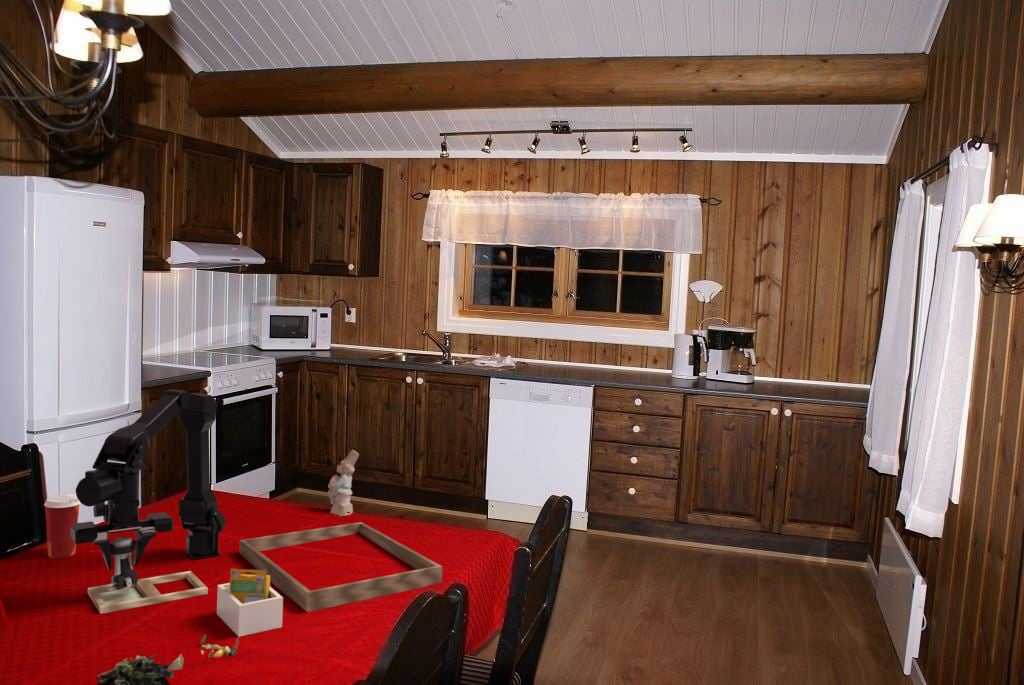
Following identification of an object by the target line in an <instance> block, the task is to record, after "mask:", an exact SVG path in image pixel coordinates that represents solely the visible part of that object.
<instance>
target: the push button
mask: <svg viewBox="0 0 1024 685" xmlns="http://www.w3.org/2000/svg"><path fill="white" fill-rule="evenodd" d="M110 545H111V555H113V557H114V575H112V577H111V583H109V585H108V584H106V585H107V586H112V588H110V589H108V590H112V589H117V590H120V589H122V588H125V587H127V586H128V587H129V586H131V585H132V584H136V583H137V582H138V580H139V579H138V571H137V570H135V569H134V567H133V561H132V560H133V558H132V552H134V550H135V545H136V540H135V539H132V537H131V536H120V537H115V538H114V539H112V542H110ZM133 569H134V570H133Z"/></svg>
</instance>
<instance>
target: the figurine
mask: <svg viewBox="0 0 1024 685" xmlns="http://www.w3.org/2000/svg"><path fill="white" fill-rule="evenodd" d="M359 456H360V454H359V453H358V452H357V451H355V450H354V449H351V451H350V452H349V453H348V454H347V456H346V457H345V458H344V459H343V460H341V461H340V464H338V465H337V466H336V467H337V468H336V472H337V473H339V474H340V476H339V475H338V474H334V475H333V476H332V477H331V478H330V481H329V483H328V484H327V487H328V489H329V490H328V491H327V494H328V499H330V504H331V505H332V507H331V508H330V511H329V513H330V514H331V515H335V516H337V515H338V516H339V517H342V516H349V515H352V514H353V512H354V510H353V509H354V508H353V503H351V496H352V495H353V491H352V489H351V488H352V481H353V477H352V474H353V473H354V472H355V470H356V469H355V467H354V466H355V464H356V462H357V460H358V459H359ZM347 512H350V513H347Z"/></svg>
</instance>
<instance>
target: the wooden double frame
mask: <svg viewBox="0 0 1024 685" xmlns="http://www.w3.org/2000/svg"><path fill="white" fill-rule="evenodd" d="M185 579H186V580H187V581H188V582H189V583H190V584H191V585H192V586H193V587H194V588H191V589H185V590H180V591H175V592H170V593H164V594H161V592H160V591H159V590H158V589H157V588H156V586H154V585H157V584H164V583H169V582H173V581H180V580H185ZM109 584H110V583H109ZM109 584H103V585H97V586H93V587H87V595H88V596H89V598H90V600H91V601H92V603H93V605H94V606H95V608H96V609H97V611H98V612H99V614H100V615H101V614H106V613H112V612H116V611H122V610H129V609H135V608H140V607H144V606H149V605H155V604H160V603H166V602H170V601H171V602H172V601H177V600H182V599H187V598H193V597H198V596H203V595H208V594H209V593H208V592H209V588H208V587H207V586H206V585H205V584H204V583H203V582H202V581H201V580H200V579H199V578H198V576H196V575H195V574H194V572H192V571H191V570H188V571H182V572H175V573H169V574H164V575H158V576H153V577H151V576H150V577H146V578H139V579H138V582H137V583H136V584H132V585H131V586H129V587H128V586H127V587H125V588H122V589H120V590H117V589H112V590H108V589H110V588H112V586H107V585H109Z"/></svg>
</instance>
